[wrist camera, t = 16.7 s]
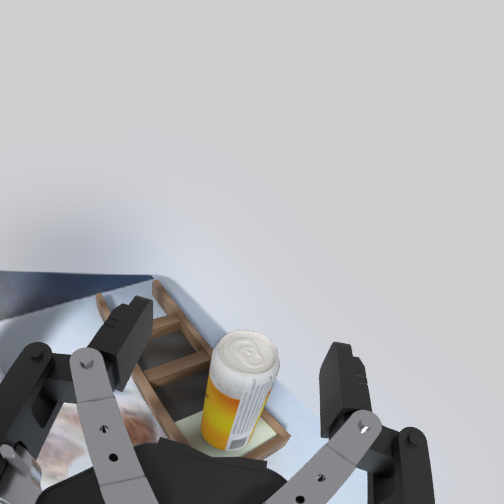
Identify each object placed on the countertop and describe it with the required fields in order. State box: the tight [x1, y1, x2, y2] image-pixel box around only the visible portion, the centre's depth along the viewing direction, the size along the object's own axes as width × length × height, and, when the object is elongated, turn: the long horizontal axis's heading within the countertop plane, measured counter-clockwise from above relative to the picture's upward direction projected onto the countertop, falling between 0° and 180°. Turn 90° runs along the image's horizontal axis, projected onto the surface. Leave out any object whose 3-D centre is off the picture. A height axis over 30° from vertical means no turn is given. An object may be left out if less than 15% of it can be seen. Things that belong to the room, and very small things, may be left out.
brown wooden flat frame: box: [96, 280, 291, 460], centre depth 43 cm, size 36×12×3 cm, turn 38°
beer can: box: [201, 330, 280, 451], centre depth 31 cm, size 6×6×15 cm
